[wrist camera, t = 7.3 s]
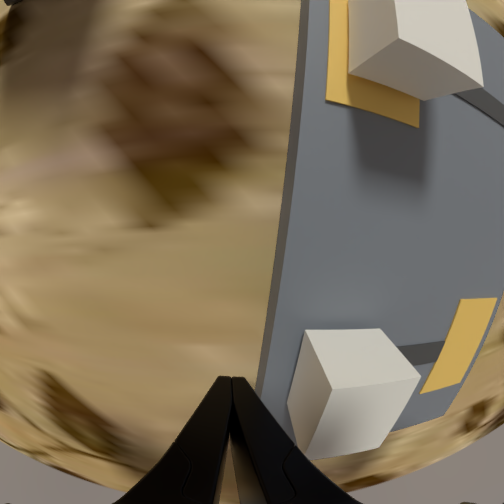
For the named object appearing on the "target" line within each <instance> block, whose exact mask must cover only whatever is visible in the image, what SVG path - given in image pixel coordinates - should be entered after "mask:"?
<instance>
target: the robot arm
mask: <svg viewBox="0 0 504 504" xmlns="http://www.w3.org/2000/svg"><path fill="white" fill-rule="evenodd" d="M229 434H230V445H231V451H232V458H233V464H234V470H235V476H236V482H237V488H238V493H239V499H240V504H363V503H361V502H359V501H357V500H355V499H354V498H352V497H351V496H350V495H348V494H347V493H346V492H345V491H343V490H342V489H341V488H340V487H338V486H337V485H336V484H335V483H334V482H332V481H331V480H330V479H329V478H328V477H326V476H325V475H324V474H323V473H322V472H321V471H320V470H319V469H318V468H316V467H315V466H314V465H313V464H312V463H311V462H310V460H309V459H308V458H307V457H306V456H305V455H304V454H303V453H302V452H301V450H300V449H299V448H298V447H297V446H296V445H295V443H294V442H293V441H292V439H291V438H290V437H289V436H288V434H287V433H286V432H285V431H284V429H283V428H282V427H281V426H280V424H279V423H278V422H277V420H276V419H275V418H274V417H273V415H272V414H271V413H270V411H269V410H268V409H267V407H266V406H265V405H264V403H263V402H262V401H261V399H260V398H259V397H258V395H257V394H256V393H255V391H254V390H253V388H252V387H251V386H250V384H249V383H248V382H247V380H246V379H245V378H244V377H232V378H231V377H230V376H218V377H217V379H216V380H215V382H214V383H213V385H212V386H211V388H210V389H209V391H208V392H207V394H206V395H205V397H204V398H203V400H202V401H201V403H200V404H199V406H198V407H197V409H196V410H195V412H194V413H193V415H192V416H191V418H190V419H189V421H188V422H187V423H186V425H185V426H184V428H183V429H182V431H181V432H180V434H179V435H178V436H177V438H176V439H175V442H173V443H172V445H171V446H170V448H169V449H168V450H167V452H166V453H165V454H164V455H163V457H162V458H161V459H160V460H159V462H158V463H157V464H156V465H155V466H154V467H153V468H152V469H151V470H150V471H149V472H148V473H147V474H146V475H145V476H144V477H143V478H142V479H141V480H140V481H139V482H138V483H137V484H136V485H135V486H133V487H132V488H131V489H130V490H129V491H128V492H127V493H126V494H125V495H124V496H122V497H121V498H120V499H119V500H117V501H116V502H115V503H112V504H219V500H220V494H221V487H222V481H223V474H224V468H225V461H226V455H227V448H228V442H229ZM6 504H9V503H6ZM460 504H475V503H469V502H462V503H460ZM503 504H504V503H503Z"/></svg>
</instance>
